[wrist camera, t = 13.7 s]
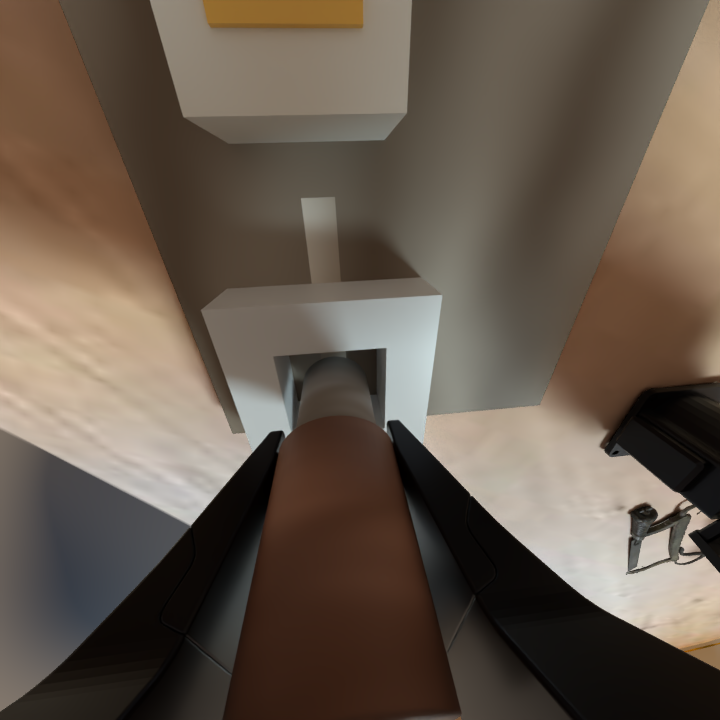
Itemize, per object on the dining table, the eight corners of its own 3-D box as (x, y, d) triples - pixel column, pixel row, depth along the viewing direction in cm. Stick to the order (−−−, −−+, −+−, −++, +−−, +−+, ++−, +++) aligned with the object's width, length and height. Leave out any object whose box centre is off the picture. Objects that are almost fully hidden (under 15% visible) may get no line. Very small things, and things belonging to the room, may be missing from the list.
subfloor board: (819, -421, 6) (964, -606, 4) (523, 389, 17) (539, 405, 16) (-106, -544, 4) (-281, -843, 3) (240, 415, 16) (232, 433, 15)
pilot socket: (421, 277, 11) (442, 294, 9) (409, 417, 15) (421, 452, 13) (226, 288, 11) (201, 310, 8) (269, 430, 15) (258, 468, 13)
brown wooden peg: (375, 344, 11) (484, 693, 3) (375, 410, 13) (444, 729, 5) (287, 351, 11) (171, 743, 3) (301, 417, 12) (251, 763, 5)
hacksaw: (625, 505, 27) (640, 520, 26) (735, 467, 26) (757, 481, 24) (623, 578, 39) (633, 591, 38) (698, 556, 37) (712, 568, 36)
